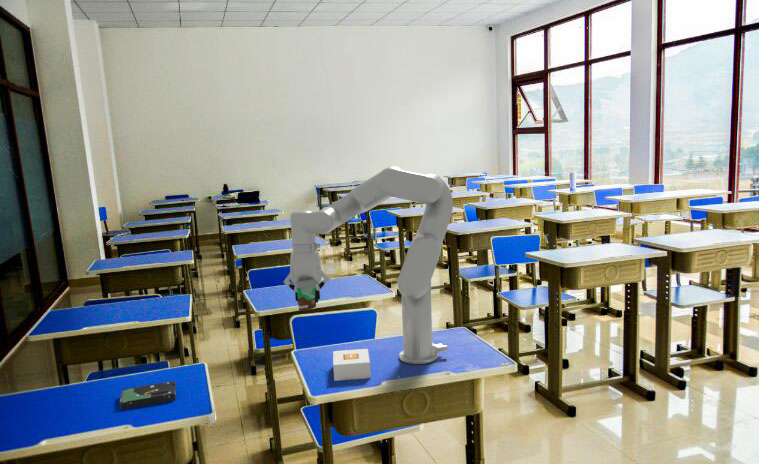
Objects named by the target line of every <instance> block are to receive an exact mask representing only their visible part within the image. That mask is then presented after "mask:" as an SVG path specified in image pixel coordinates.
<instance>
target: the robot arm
mask: <svg viewBox="0 0 759 464" xmlns="http://www.w3.org/2000/svg"><path fill="white" fill-rule="evenodd" d="M452 195H453V194H452V192H451V190H450V188H449V186H448V184H447V183H446V181H444V179H443V178H442V177H441V176H439V175H437V174H435V173H425V174H421V173H416V172H411V171H406V170H403V169H402V168H401V167H399V166H396V165H393V166H391V165H390V166H388V167H386V168H384V169H382V170H381V171H380V172H378V173H376V174H375V175H373V176H371V177H370V178H368V179H367V180H364V181H363V182H361V183H360V184H357V186H355V187H353V188H352V189H351V190H350V192H348V193H347V194H346V195H344V196H343V197H341V198H339V199H338V200H336V201H334V202H333V203H331V204H330V205H328V206H326V207H324V208H322V209H319V210H317V211H312V210H307V209H301V210H294V211H292V212H291V214H290V217H289V218H290V229H291V231H290V232H291V243H292V246H291V247H292V252H290V259H289V260H290V261H289V262H290V263H289V264H290V265H289V267H290V268H289V269H290V270H289V271H290V272H289V273H288V275H287V277H285V279H284V280H283V284H284V285H286V286H287V287H289V289H291V290H292V291H293V292H294V296H295V302H298V295H297V288H296V281H305V280H310V279H313V278H314V279H315V280H316V282H317V284H315V287H316V291H315V298H316V304H318V303H319V300H321V294H320V292H321V291H320V290H321V289H322V288H323V287H324V286H325V284H327V283H328V282H329V281H330V277H329V276H328V275H327V274H326V273H325V272H324V271H323V270H322V262H321V261H322V260H321V256H320V252H319V250H317V249H321V243H317V242H316V234H321V235H325V234H329V233H330V232H332V231H333V230H335V229H336V228H338V227H339V226H341V225H342V224H343V225H344V224H345V223H346V222H348V221H349V220H351V219H353V218H354V217H357V216H358V215H360V214H363V213H366V212H368V211H370V210H372V209H373V208H375V207H377V206H378V205H380V204H382V203H383V202H385V201H387V200H389V199H390V198H396V199H401V200H405V201H410V202H413V203H419V204H425V208H424V212H423V215H422V217H421V221H420V224H419V225H418V229H417V231H416V234H415V236H414V237H413V239H412V240H411V243H410V245H409V247H408V250H407V252H406V256H405V258H404V261H403V264H402V267H401V270H400V272H399V274H398V278H397V282H396V283H397V288H398V291H399V293H400V294H401V320H402V340H403V341H402V342H403V350H402V351H400V352H399V354H398V359H399V360H400V361H401V362H402V363H406V364H410V365H424V364H429V363H432V362H435V361H436V360H438V357H439V354H438V353H440V352H443V353H444V352H448V345H443V344H442V343H438V344H436V343H434V341H433V320H432V319H433V318H432V278H433V276H434V273H435V269H436V267H437V265H438V263H439V259H440V255H441V251H442V245H443V241H444V238H445V236H446V234H447V231H448V228H449V225H450V221H451V218H452V215H453V214H452V213H453V209H454V208H453V207H454V203H453V201H454V200H453V196H452ZM322 279H323V280H322Z"/></svg>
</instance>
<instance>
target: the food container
mask: <svg viewBox="0 0 759 464" xmlns="http://www.w3.org/2000/svg"><path fill="white" fill-rule="evenodd" d="M315 284H317V282H316V280H315V279H314V278H313V279H310V280H305V281H296V288H297V295H298V301H297V305H298V312H302V311H303V312H304V311H310V310H312V309H315V308H316V307H317V303H316V298H315V291H316V287H315Z"/></svg>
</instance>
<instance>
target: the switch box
mask: <svg viewBox="0 0 759 464" xmlns="http://www.w3.org/2000/svg"><path fill="white" fill-rule="evenodd" d="M345 354H357V356H358V359H347V360H345V356H344V355H345ZM332 359H333V360H332V362H333V364H332V365H333V380H334V382H337V381H338V382H339V381H350V380H351V381H352V380H363V379H371V377H372V374H371V361H370V353H369V349H368V348H360V349H359V348H358V349H357V348H356V349H345V350H343V349H342V350H335V351H334V350H333V351H332Z"/></svg>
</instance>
